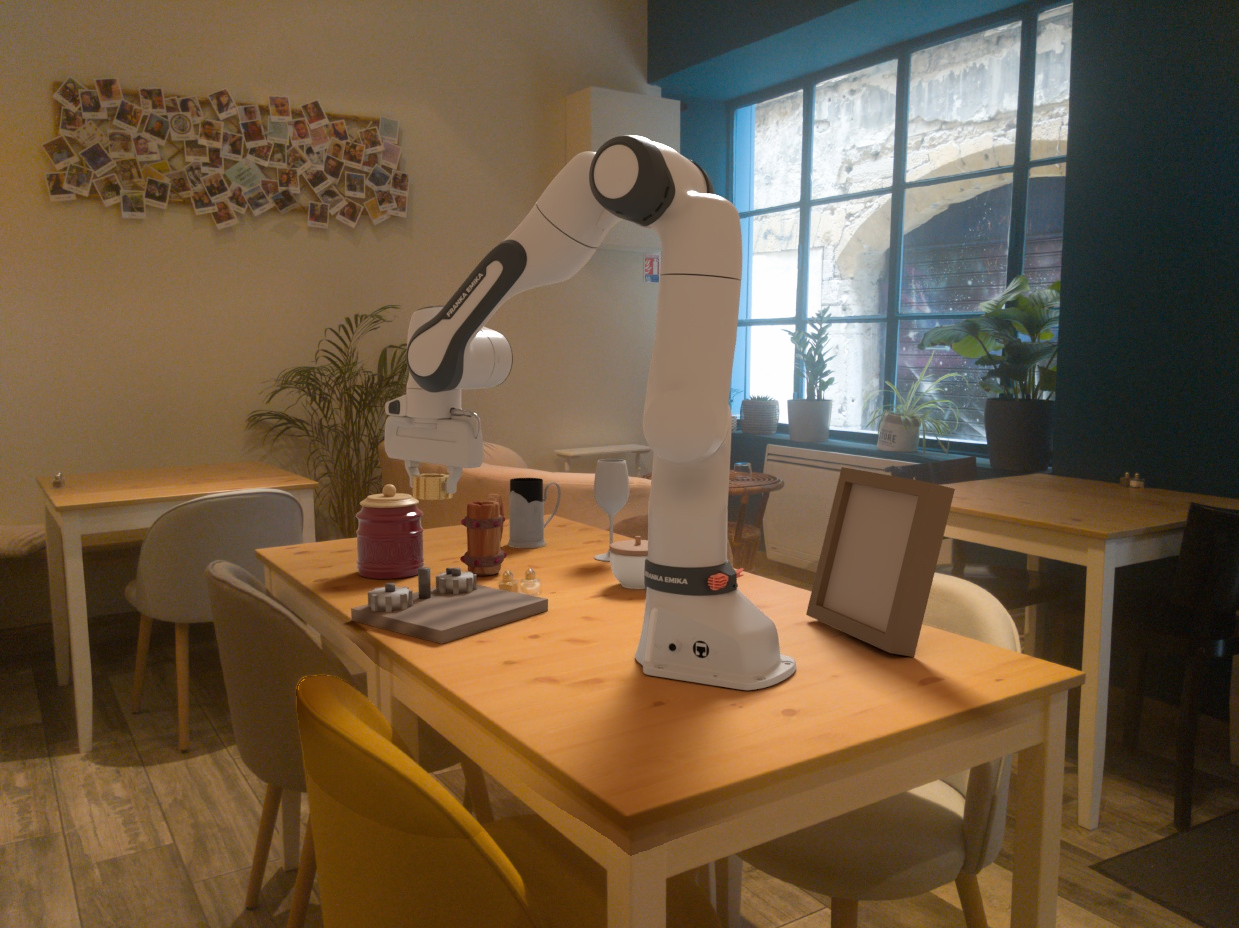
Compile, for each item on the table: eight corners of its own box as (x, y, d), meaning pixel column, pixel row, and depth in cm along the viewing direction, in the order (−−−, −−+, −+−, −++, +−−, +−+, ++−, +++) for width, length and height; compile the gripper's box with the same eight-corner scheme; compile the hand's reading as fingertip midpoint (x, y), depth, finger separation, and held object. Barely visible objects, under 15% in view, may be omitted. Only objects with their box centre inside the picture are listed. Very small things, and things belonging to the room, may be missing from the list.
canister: (401, 582, 179) (400, 490, 177) (343, 577, 183) (341, 486, 181) (436, 568, 191) (435, 481, 189) (381, 563, 195) (379, 479, 193)
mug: (495, 579, 181) (495, 502, 180) (455, 577, 183) (454, 500, 181) (518, 564, 195) (518, 492, 194) (481, 562, 197) (480, 490, 195)
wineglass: (635, 557, 203) (636, 460, 201) (616, 563, 197) (617, 463, 195) (606, 553, 207) (606, 458, 205) (586, 559, 201) (586, 460, 199)
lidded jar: (623, 594, 170) (623, 543, 169) (600, 582, 180) (600, 533, 179) (676, 589, 175) (676, 539, 174) (650, 577, 184) (651, 529, 183)
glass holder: (499, 544, 217) (499, 479, 215) (548, 536, 227) (548, 474, 225) (522, 549, 211) (522, 483, 209) (571, 541, 220) (571, 478, 219)
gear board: (548, 610, 159) (547, 569, 158) (441, 643, 140) (441, 597, 139) (460, 592, 171) (459, 554, 171) (351, 620, 152) (350, 577, 151)
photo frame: (889, 659, 133) (897, 483, 131) (805, 620, 153) (811, 467, 151) (973, 650, 138) (983, 481, 136) (881, 613, 159) (888, 465, 156)
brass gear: (461, 497, 156) (461, 476, 156) (431, 501, 151) (431, 479, 151) (434, 492, 160) (434, 472, 160) (404, 496, 155) (404, 475, 155)
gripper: (493, 409, 151) (492, 495, 152) (407, 402, 163) (406, 482, 164) (465, 410, 145) (463, 499, 147) (378, 403, 157) (377, 485, 159)
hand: (432, 490), depth 156 cm, fingers closed on brass gear, 6 cm apart
